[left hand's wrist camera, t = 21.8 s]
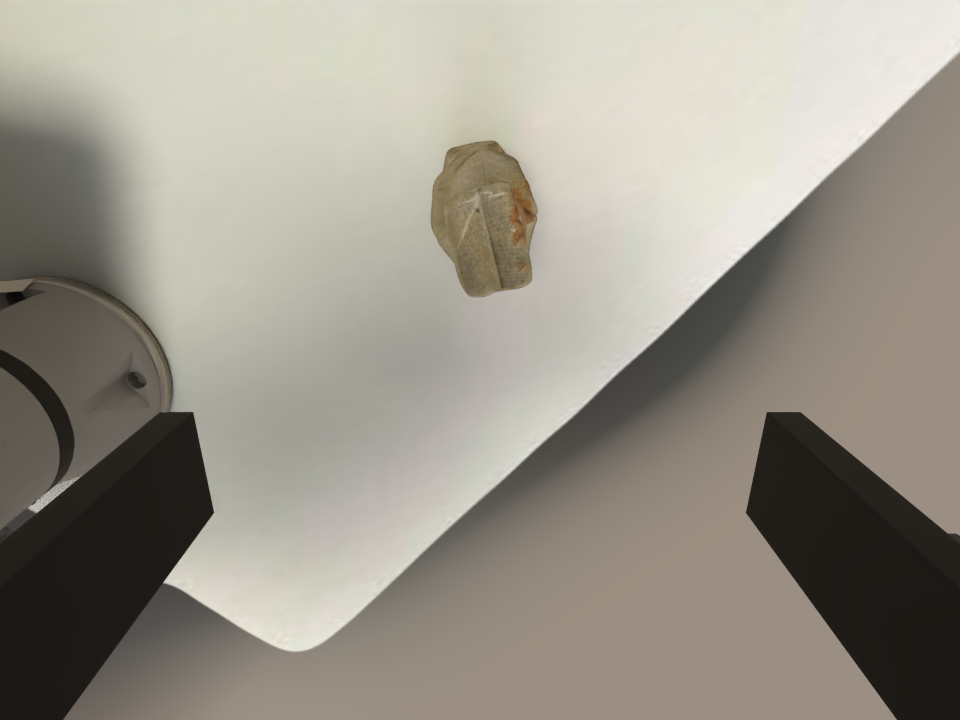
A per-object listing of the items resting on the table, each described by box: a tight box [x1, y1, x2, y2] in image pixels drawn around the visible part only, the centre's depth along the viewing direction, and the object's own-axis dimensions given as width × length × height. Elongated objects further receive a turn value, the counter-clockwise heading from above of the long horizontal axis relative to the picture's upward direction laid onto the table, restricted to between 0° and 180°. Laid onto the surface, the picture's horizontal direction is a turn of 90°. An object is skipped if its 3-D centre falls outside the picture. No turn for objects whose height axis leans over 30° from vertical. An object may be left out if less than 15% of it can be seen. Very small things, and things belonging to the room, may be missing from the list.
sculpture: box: [431, 141, 538, 297], centre depth 31 cm, size 6×7×15 cm
